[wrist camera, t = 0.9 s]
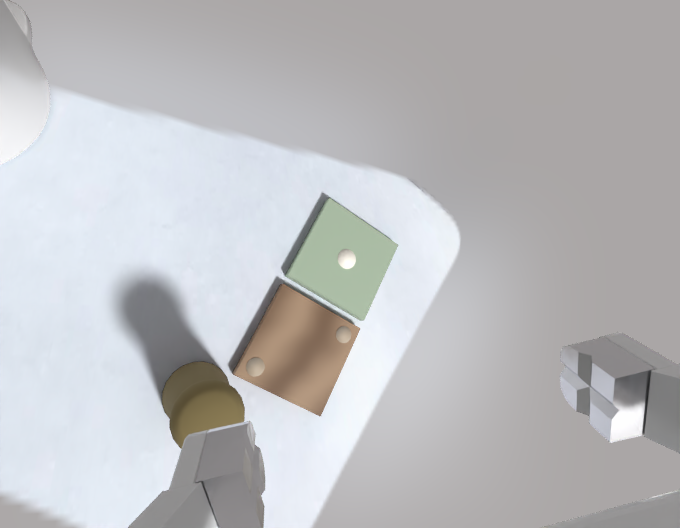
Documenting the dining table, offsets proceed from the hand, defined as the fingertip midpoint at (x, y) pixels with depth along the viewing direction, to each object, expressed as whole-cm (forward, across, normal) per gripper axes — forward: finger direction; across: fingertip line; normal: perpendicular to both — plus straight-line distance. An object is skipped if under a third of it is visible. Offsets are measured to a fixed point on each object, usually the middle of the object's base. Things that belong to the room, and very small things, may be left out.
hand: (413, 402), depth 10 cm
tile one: (+35, -2, +8) cm, 36 cm away
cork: (+25, +14, +15) cm, 33 cm away
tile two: (+29, +5, +15) cm, 33 cm away
